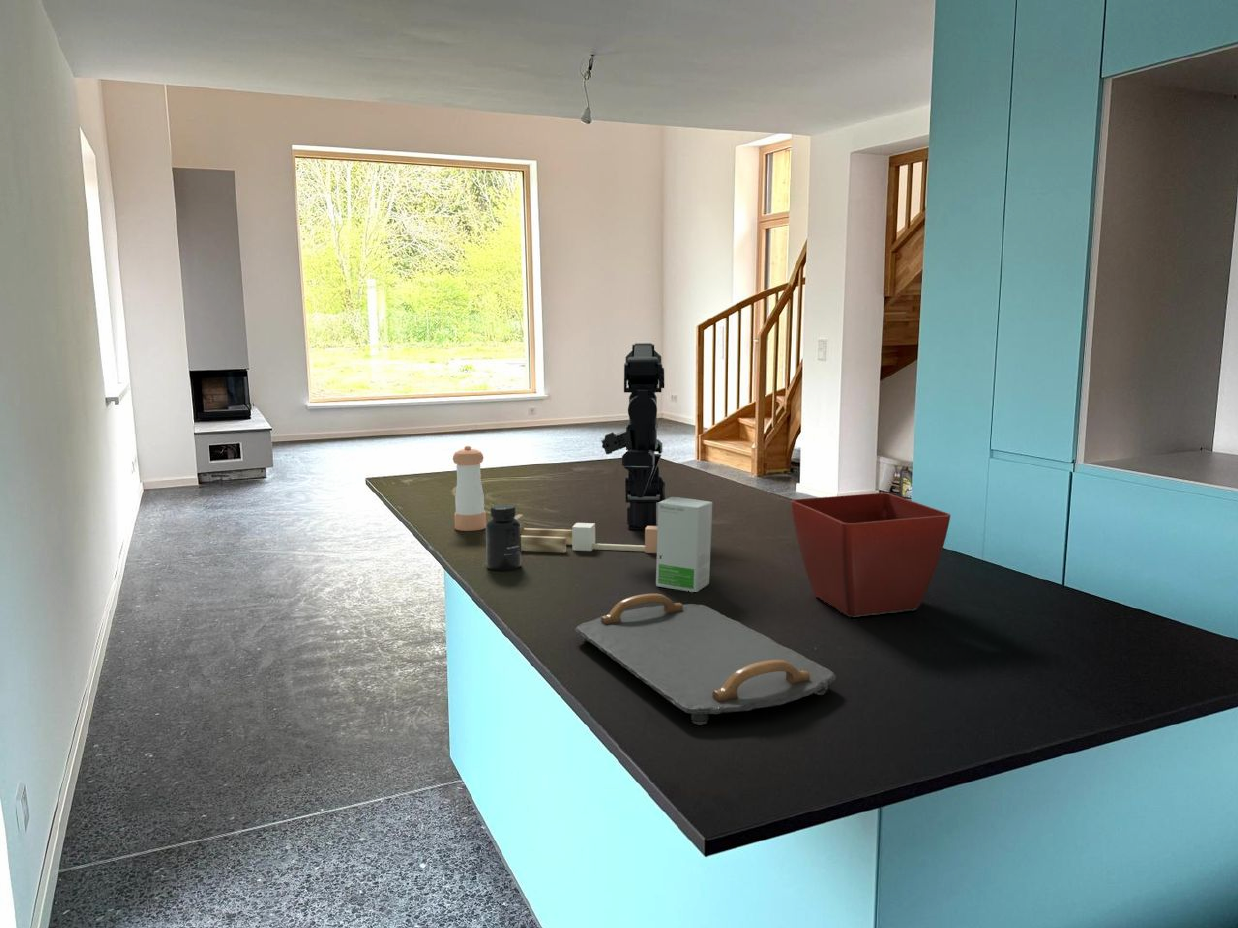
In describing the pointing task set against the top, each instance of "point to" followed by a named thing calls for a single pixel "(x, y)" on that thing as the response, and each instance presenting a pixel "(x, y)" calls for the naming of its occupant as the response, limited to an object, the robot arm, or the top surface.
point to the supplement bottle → (503, 539)
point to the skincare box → (683, 544)
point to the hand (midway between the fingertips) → (643, 492)
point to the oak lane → (544, 538)
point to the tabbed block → (586, 542)
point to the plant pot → (869, 550)
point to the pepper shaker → (469, 491)
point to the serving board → (702, 657)
